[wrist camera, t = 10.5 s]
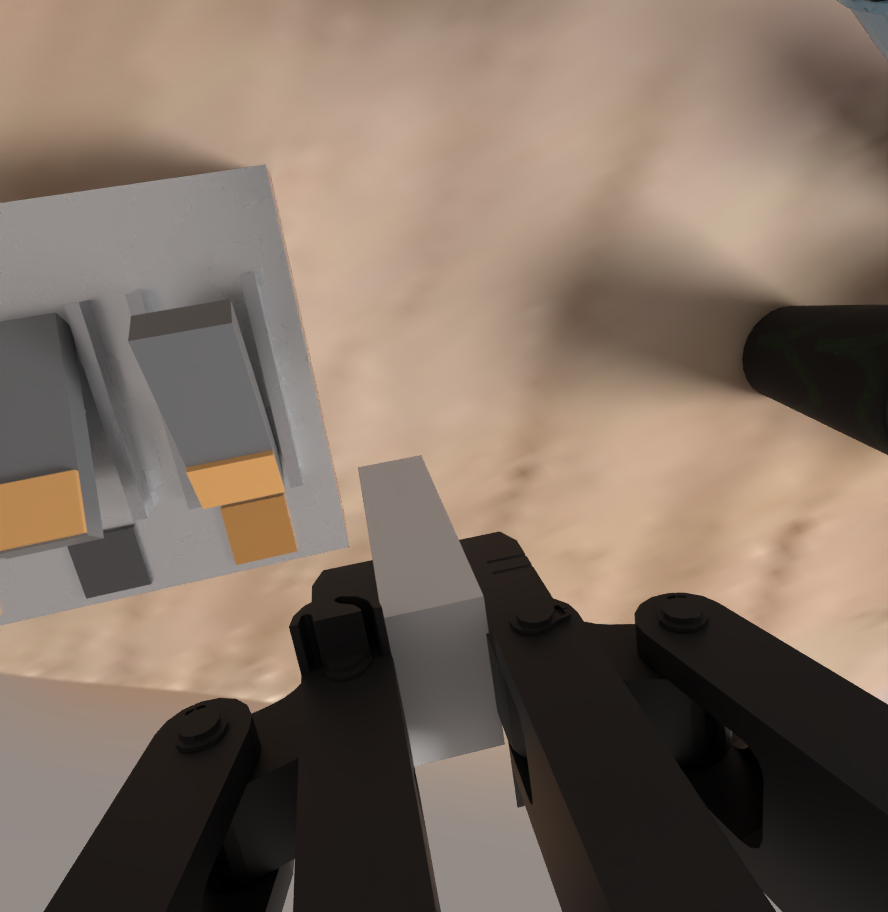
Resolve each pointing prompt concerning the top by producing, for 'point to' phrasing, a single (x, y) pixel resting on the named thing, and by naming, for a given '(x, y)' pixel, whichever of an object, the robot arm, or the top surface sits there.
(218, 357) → the switch
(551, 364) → the top surface
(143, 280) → the switch unit
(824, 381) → the cup
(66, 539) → the switch
